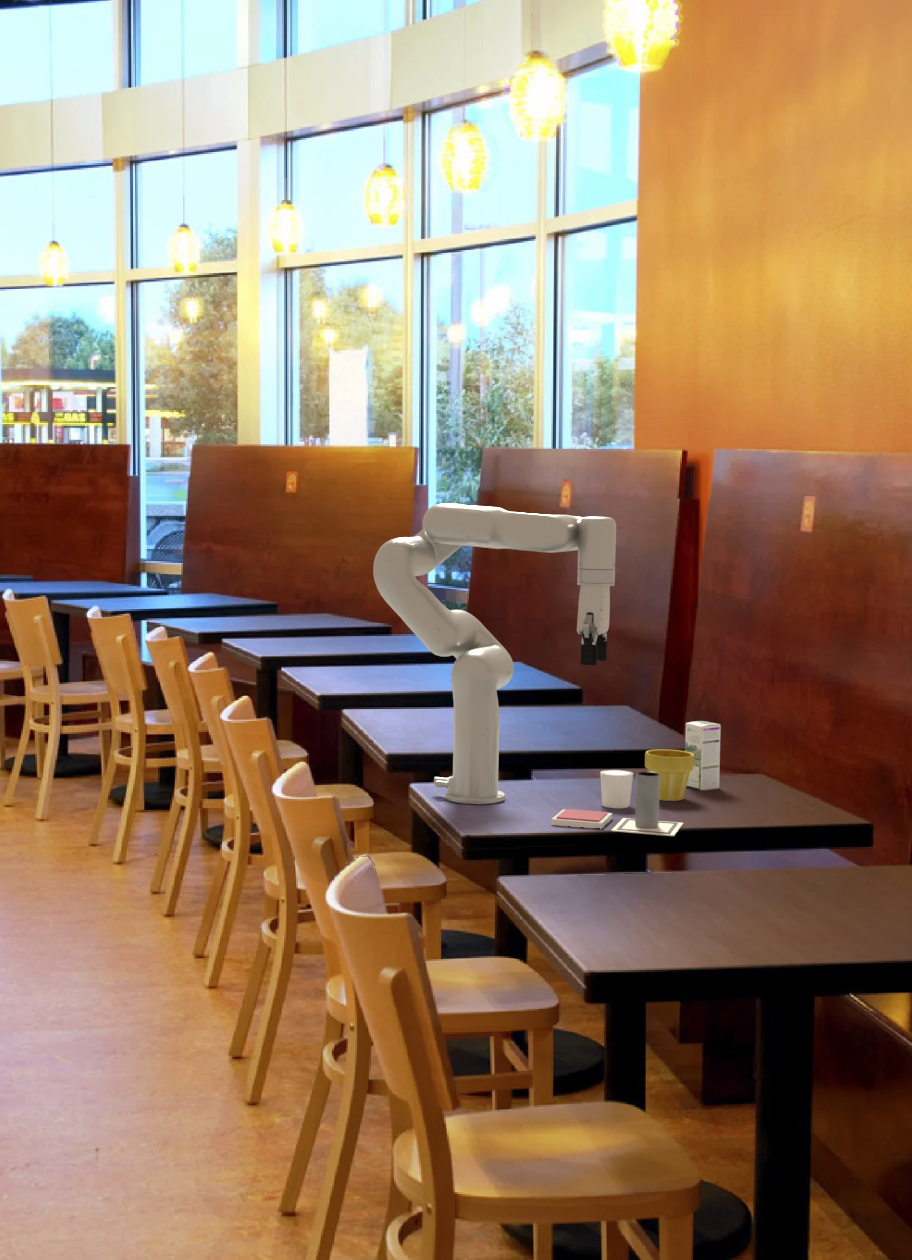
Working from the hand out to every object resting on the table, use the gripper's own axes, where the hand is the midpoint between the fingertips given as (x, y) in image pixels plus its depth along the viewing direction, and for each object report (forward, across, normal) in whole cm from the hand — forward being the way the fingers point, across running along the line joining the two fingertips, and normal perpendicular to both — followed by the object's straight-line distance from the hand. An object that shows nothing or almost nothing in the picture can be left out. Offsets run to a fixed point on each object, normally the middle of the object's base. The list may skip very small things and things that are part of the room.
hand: (593, 662), depth 310 cm
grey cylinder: (+30, +12, +14) cm, 35 cm away
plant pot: (+31, -19, +13) cm, 38 cm away
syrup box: (+31, -34, +18) cm, 49 cm away
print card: (+30, +12, +14) cm, 35 cm away
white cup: (+31, -7, +4) cm, 32 cm away
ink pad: (+30, +12, +1) cm, 33 cm away
